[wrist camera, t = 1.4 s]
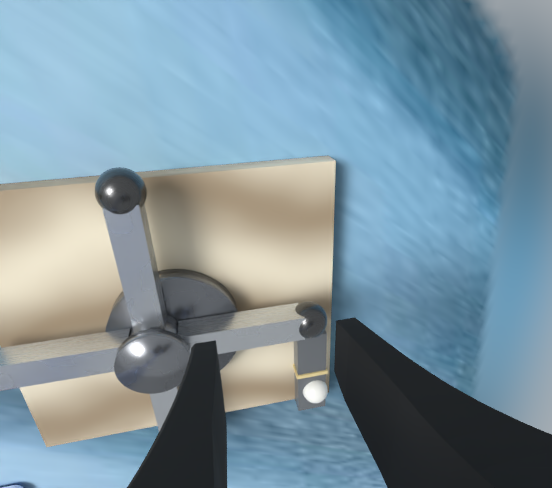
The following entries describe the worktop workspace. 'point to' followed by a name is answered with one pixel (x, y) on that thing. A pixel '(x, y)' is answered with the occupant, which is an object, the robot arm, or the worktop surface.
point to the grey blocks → (310, 372)
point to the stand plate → (169, 255)
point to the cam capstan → (154, 315)
